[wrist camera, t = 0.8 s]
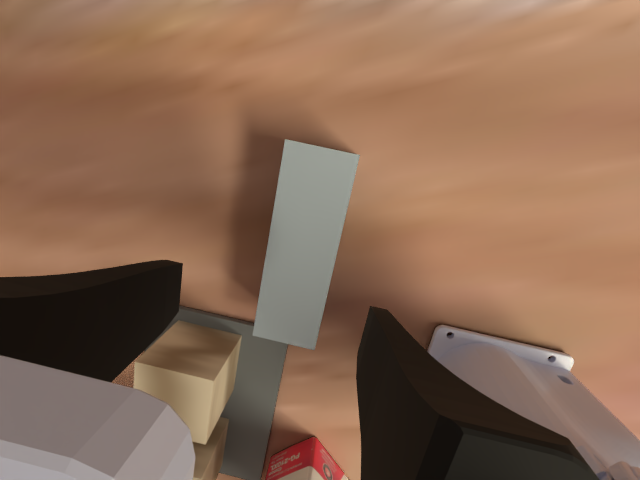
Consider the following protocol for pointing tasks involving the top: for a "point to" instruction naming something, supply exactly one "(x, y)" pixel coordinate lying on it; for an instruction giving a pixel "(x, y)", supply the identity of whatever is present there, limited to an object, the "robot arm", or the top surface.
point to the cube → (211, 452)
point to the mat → (245, 392)
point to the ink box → (304, 463)
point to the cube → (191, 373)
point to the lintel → (303, 242)
